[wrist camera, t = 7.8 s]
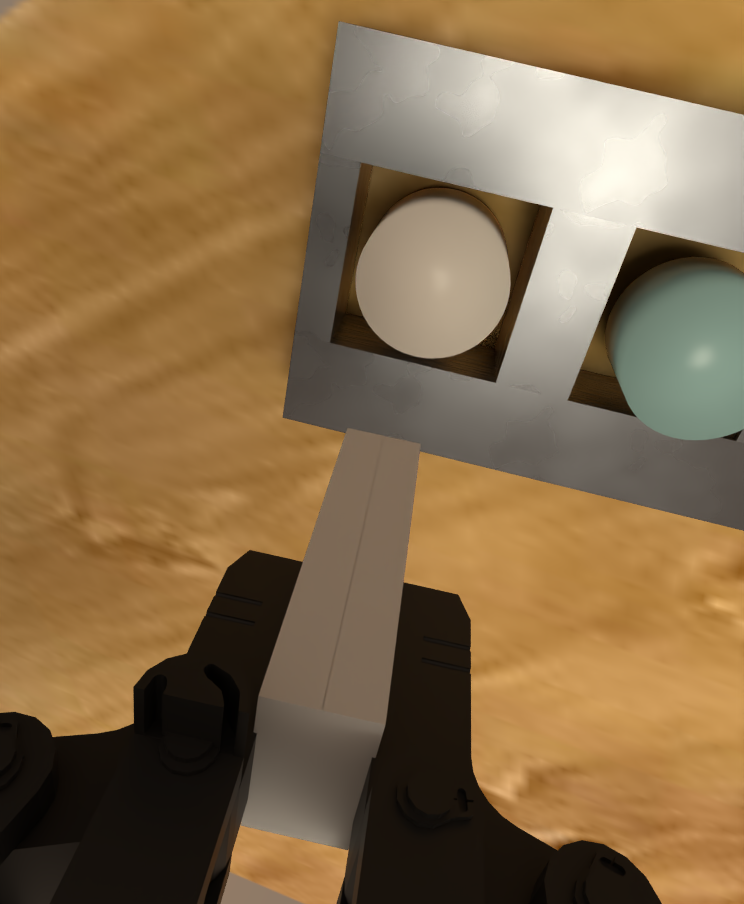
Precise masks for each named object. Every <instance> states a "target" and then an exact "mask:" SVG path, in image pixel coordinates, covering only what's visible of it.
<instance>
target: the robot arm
mask: <svg viewBox="0 0 744 904" xmlns="http://www.w3.org/2000/svg"><path fill="white" fill-rule="evenodd" d="M420 446H421V444H419V443H414V442H410V441H405V440H401V439H396V438H392V437H387V436H383V435H378V434H373V433H369V432H364V431H360V430H355V429H351V428H347V431H346V434H345V437H344V440H343V443H342V446H341V449H340V452H339V455H338V458H337V461H336V464H335V467H334V470H333V473H332V476H331V479H330V482H329V485H328V488H327V491H326V494H325V497H324V500H323V503H322V506H321V509H320V512H319V515H318V518H317V521H316V524H315V527H314V530H313V533H312V536H311V539H310V542H309V545H308V548H307V551H306V554H305V557H304V560H303V562H301V561H296V560H292V559H288V558H283V557H279V556H274V555H270V554H265V553H261V552H256V551H252V550H249V551H248V552H247V553H245V554H244V555H243V556H242V557H240V558H239V559H238V560H237V561H235V562H234V563H233V564H232V565H230V566H229V567H228V568H227V570H226V572H225V575H224V577H223V579H222V581H221V583H220V585H219V587H218V589H217V591H216V595H215V596H214V597H213V600H212V602H211V604H210V606H209V608H208V610H207V614H206V616H204V618H203V620H202V623H201V625H200V627H199V629H198V631H197V633H196V635H195V637H194V639H193V641H192V643H191V646H190V648H189V650H188V652H187V654H184V655H180V656H175V657H171V658H167V659H165V660H164V661H162V662H160V663H159V664H157V665H155V666H154V667H152V668H150V669H149V670H147V671H146V673H145V674H144V675H143V676H142V677H141V679H140V680H139V681H138V682H137V684H136V685H135V686H134V687H133V688H134V724H131V725H129V726H126V727H124V728H121V729H118V730H115V731H109V732H104V733H97V734H85V735H73V736H61V737H52V735H51V732H50V730H49V729H48V728H47V727H46V726H45V725H44V724H42V723H41V722H40V721H39V720H38V719H37V718H35V717H32V716H28V715H24V714H21V713H17V712H7V713H0V904H220V903H221V900H222V896H223V893H224V889H225V886H226V883H227V879H228V876H229V872H230V864H231V856H232V851H233V847H234V844H235V841H236V837H237V834H238V831H239V827H240V824H241V826H246V827H250V828H254V829H259V830H263V831H267V832H272V833H276V834H280V835H285V836H289V837H293V838H298V839H302V840H306V841H311V842H315V843H319V844H324V845H328V846H332V847H337V848H341V849H345V850H348V849H349V852H348V858H347V865H346V872H345V877H344V881H343V884H342V887H341V891H340V894H339V897H338V900H337V904H662V903H661V901H660V900H659V898H658V896H657V895H656V893H655V891H654V890H653V888H652V886H651V884H650V883H649V881H648V879H647V878H646V876H645V875H644V874H643V873H642V872H641V871H640V870H639V869H638V868H637V867H636V866H635V865H634V864H633V863H632V862H631V861H630V860H629V859H628V858H627V857H625V856H623V855H622V854H620V853H618V852H616V851H615V850H613V849H611V848H609V847H608V846H606V845H604V844H599V843H594V842H588V841H583V840H581V841H577V842H574V843H570V844H566V845H563V846H562V847H561V848H560V849H559V850H556V849H554V848H552V847H551V846H549V845H547V844H545V843H544V842H542V841H540V840H539V839H537V838H535V837H533V836H532V835H530V834H528V833H527V832H525V831H523V830H521V829H520V828H518V827H516V826H515V825H514V824H512V823H511V822H509V821H508V820H507V819H505V818H504V817H503V816H501V815H500V814H499V813H498V811H497V810H496V809H495V808H494V807H493V806H492V805H491V804H490V803H489V802H488V800H487V799H486V797H485V796H484V794H483V793H482V791H481V789H480V788H479V786H478V783H477V780H476V778H475V775H474V773H473V767H472V760H471V674H470V669H471V652H470V647H471V620H470V618H469V616H468V614H467V612H466V610H465V608H464V606H463V604H462V602H461V600H460V597H459V595H458V594H453V593H449V592H444V591H440V590H435V589H431V588H426V587H422V586H417V585H413V584H408V583H404V582H403V581H404V573H405V565H406V558H407V550H408V542H409V534H410V526H411V518H412V510H413V502H414V494H415V486H416V478H417V470H418V462H419V454H420ZM241 821H242V822H241Z"/></svg>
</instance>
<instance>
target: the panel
mask: <svg viewBox="0 0 744 904" xmlns="http://www.w3.org/2000/svg"><path fill="white" fill-rule="evenodd" d="M373 165H374V166H378V167H382V168H387V169H391V170H395V171H399V172H404V173H408V174H412V175H416V176H421V177H425V178H429V179H433V180H438V181H442V182H446V183H450V184H455V185H459V186H463V187H467V188H471V189H476V190H480V191H484V192H488V193H493V194H497V195H501V196H505V197H510V198H514V199H518V200H522V201H527V202H531V203H535V204H539V205H540V207H539V210H538V213H537V216H536V219H535V223H534V226H533V229H532V232H531V235H530V238H529V242H528V245H527V248H526V251H525V254H524V257H523V260H522V264H521V267H520V270H519V273H518V276H517V279H516V283H515V286H514V289H513V292H512V295H511V298H510V301H509V305H508V308H507V311H506V314H505V317H504V320H503V323H502V327H501V330H500V333H499V336H498V339H497V342H496V346H495V349H493V348H488V347H484V346H480V345H476V346H474V347H472V348H471V349H469V350H467V351H465V352H463V353H460V354H457V355H454V356H450V357H444V358H421V357H416V356H412V355H409V354H405V353H403V352H401V351H399V350H396V349H395V348H393V347H391V346H390V345H388V344H387V343H386V342H384V341H383V340H382V339H381V338H380V337H379V336H378V335H377V334H376V333H375V332H374V331H373V330H372V328H371V327H370V326H369V325H368V323H367V321H366V319H365V318H364V317H360V316H356V315H352V314H347V313H346V310H347V304H348V299H349V293H350V288H351V282H352V277H353V272H354V266H355V261H356V255H357V250H358V244H359V239H360V233H361V228H362V222H363V217H364V211H365V206H366V200H367V195H368V189H369V184H370V178H371V173H372V167H373ZM636 227H637V228H641V229H645V230H650V231H654V232H658V233H662V234H667V235H671V236H675V237H679V238H683V239H688V240H692V241H696V242H700V243H705V244H709V245H713V246H717V247H722V248H726V249H730V250H734V251H739V252H743V253H744V115H742V114H738V113H734V112H729V111H725V110H721V109H716V108H712V107H708V106H703V105H699V104H695V103H690V102H686V101H682V100H677V99H673V98H669V97H664V96H660V95H656V94H651V93H647V92H643V91H638V90H634V89H630V88H625V87H621V86H617V85H612V84H608V83H604V82H599V81H595V80H591V79H587V78H582V77H578V76H574V75H569V74H565V73H561V72H556V71H552V70H548V69H543V68H539V67H535V66H530V65H526V64H522V63H517V62H513V61H509V60H504V59H500V58H496V57H491V56H487V55H483V54H478V53H474V52H470V51H465V50H461V49H457V48H452V47H448V46H444V45H439V44H435V43H431V42H427V41H422V40H418V39H414V38H409V37H405V36H401V35H396V34H392V33H388V32H383V31H379V30H375V29H370V28H366V27H362V26H357V25H353V24H349V23H344V22H340V21H339V23H338V30H337V37H336V44H335V51H334V58H333V65H332V72H331V79H330V87H329V94H328V101H327V108H326V115H325V122H324V129H323V136H322V143H321V150H320V157H319V164H318V171H317V178H316V186H315V193H314V200H313V207H312V214H311V221H310V228H309V235H308V242H307V249H306V256H305V263H304V270H303V277H302V285H301V292H300V299H299V306H298V313H297V320H296V327H295V334H294V341H293V348H292V355H291V362H290V369H289V377H288V384H287V391H286V398H285V405H284V412H283V418H287V419H291V420H295V421H299V422H303V423H307V424H311V425H315V426H319V427H323V428H327V429H331V430H336V431H340V432H344V433H346V431H347V428H351V429H355V430H360V431H364V432H369V433H373V434H378V435H383V436H387V437H392V438H396V439H401V440H405V441H410V442H414V443H419V444H421V446H420V451H421V452H425V453H429V454H433V455H437V456H442V457H446V458H450V459H454V460H458V461H462V462H466V463H470V464H474V465H478V466H482V467H486V468H490V469H495V470H499V471H503V472H507V473H511V474H515V475H519V476H523V477H527V478H531V479H535V480H539V481H543V482H548V483H552V484H556V485H560V486H564V487H568V488H572V489H576V490H580V491H584V492H588V493H592V494H597V495H601V496H605V497H609V498H613V499H617V500H621V501H625V502H629V503H633V504H637V505H641V506H645V507H650V508H654V509H658V510H662V511H666V512H670V513H674V514H678V515H682V516H686V517H690V518H694V519H698V520H703V521H707V522H711V523H715V524H719V525H723V526H727V527H731V528H735V529H739V530H743V531H744V429H743V430H741V431H738V432H736V433H733V434H730V435H727V436H723V437H719V438H715V439H708V440H683V439H678V438H673V437H669V436H666V435H663V434H661V433H659V432H656V431H654V430H653V429H651V428H650V427H648V426H646V425H645V424H644V423H643V422H642V421H640V420H639V419H638V417H637V416H636V415H635V414H634V413H633V411H632V410H631V408H630V407H629V405H628V403H627V400H626V398H625V396H624V393H623V391H622V389H621V386H620V384H619V382H618V379H617V378H613V377H609V376H605V375H600V374H596V373H592V372H588V371H584V370H580V368H581V365H582V363H583V360H584V358H585V355H586V353H587V350H588V348H589V345H590V343H591V340H592V338H593V335H594V333H595V330H596V328H597V325H598V323H599V320H600V318H601V315H602V313H603V310H604V308H605V305H606V303H607V300H608V298H609V295H610V293H611V290H612V288H613V285H614V283H615V280H616V277H617V275H618V272H619V270H620V267H621V265H622V262H623V260H624V257H625V255H626V252H627V250H628V247H629V245H630V242H631V240H632V237H633V235H634V232H635V230H636Z"/></svg>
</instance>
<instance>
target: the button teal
mask: <svg viewBox="0 0 744 904" xmlns="http://www.w3.org/2000/svg"><path fill="white" fill-rule="evenodd" d="M605 344H606V351H607V355H608V358H609V360H610V363H611V365H612V367H613V370H614V372H615V374H616V377H617V379H618V382H619V384H620V386H621V389H622V391H623V393H624V396H625V398H626V400H627V403H628V405H629V407H630V408H631V410H632V411H633V413H634V414H635V415H636V416H637V417H638V419H639V420H640V421H642V422H643V423H644V424H645V425H646V426H648V427H650V428H651V429H653V430H654V431H656V432H659V433H661V434H663V435H666V436H669V437H673V438H678V439H683V440H708V439H715V438H719V437H723V436H727V435H730V434H733V433H736V432H738V431H741V430H743V429H744V273H743V272H741V271H740V270H739V269H737V268H736V267H734V266H732V265H730V264H728V263H726V262H724V261H720V260H717V259H713V258H707V257H687V258H680V259H675V260H671V261H668V262H665V263H663V264H660V265H658V266H656V267H654V268H652V269H650V270H649V271H647V272H645V273H644V274H642V275H641V276H640V277H638V278H637V279H636V280H634V281H633V282H632V283H631V284H630V285H629V286H628V287H627V288H626V289H625V290H624V292H623V293H622V294H621V295H620V297H619V298H618V300H617V301H616V303H615V304H614V306H613V309H612V311H611V313H610V315H609V318H608V321H607V326H606V331H605Z"/></svg>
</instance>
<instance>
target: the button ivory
mask: <svg viewBox="0 0 744 904" xmlns="http://www.w3.org/2000/svg"><path fill="white" fill-rule="evenodd" d="M510 285H511V282H510V268H509V260H508V253H507V246H506V240H505V237H504V233H503V230H502V228H501V226H500V224H499V222H498V220H497V219H496V217H495V216H494V214H493V213H492V212H491V211H490V210H489V209H488V207H486V206H485V205H484V204H483V203H482V202H481V201H479V200H478V199H476V198H475V197H473V196H471V195H469V194H467V193H465V192H462V191H459V190H456V189H450V188H430V189H424V190H420V191H417V192H415V193H412V194H410V195H408V196H406V197H404V198H403V199H401V200H400V201H398V202H397V203H396V204H395V205H393V206H392V207H391V208H390V209H389V210H388V211H387V213H386V214H385V215H384V217H383V218H382V219H381V221H380V222H379V224H378V226H377V227H376V229H375V230H374V232H373V233H372V235H371V237H370V238H369V240H368V241H367V243H366V245H365V247H364V248H363V251H362V253H361V256H360V258H359V262H358V266H357V271H356V293H357V299H358V303H359V306H360V309H361V311H362V314H363V316H364V318H365V319H366V321H367V323H368V325H369V326H370V327H371V328H372V330H373V331H374V332H375V333H376V334H377V335H378V336H379V337H380V338H381V339H382V340H383V341H384V342H386V343H387V344H388V345H390V346H391V347H393V348H395V349H396V350H399V351H401V352H403V353H405V354H409V355H412V356H416V357H421V358H444V357H450V356H454V355H457V354H460V353H463V352H465V351H467V350H469V349H471V348H472V347H474V346H476V345H477V344H479V343H480V342H481V341H482V340H484V339H485V338H486V337H487V336H488V335H489V334H490V333H491V332H492V331H493V329H494V328H495V327H496V325H497V324H498V323H499V321H500V319H501V317H502V315H503V314H504V311H505V308H506V306H507V303H508V299H509V294H510Z"/></svg>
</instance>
